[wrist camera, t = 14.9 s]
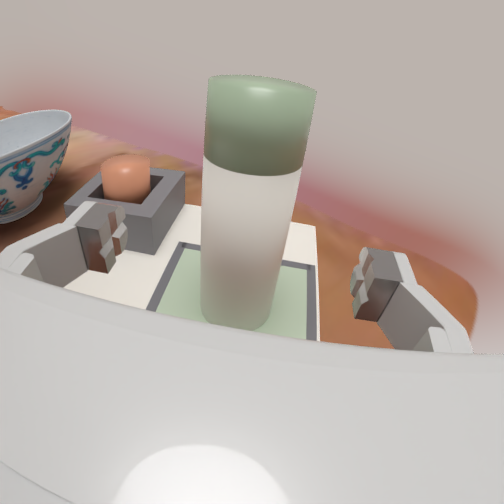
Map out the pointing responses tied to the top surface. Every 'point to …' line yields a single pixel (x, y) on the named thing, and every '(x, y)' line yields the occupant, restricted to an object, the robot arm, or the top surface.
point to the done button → (126, 178)
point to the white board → (192, 261)
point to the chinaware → (30, 159)
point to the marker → (249, 192)
